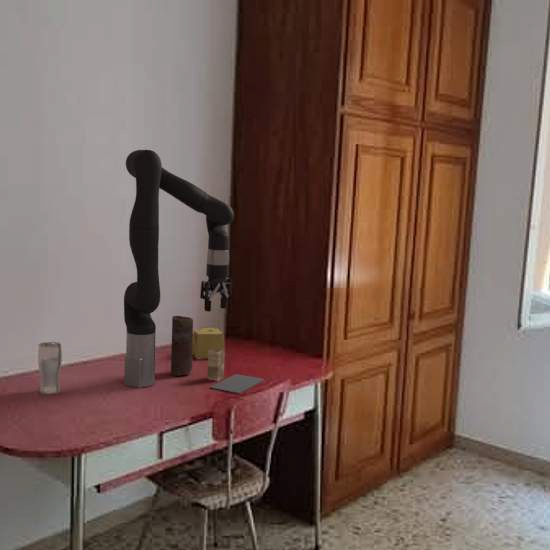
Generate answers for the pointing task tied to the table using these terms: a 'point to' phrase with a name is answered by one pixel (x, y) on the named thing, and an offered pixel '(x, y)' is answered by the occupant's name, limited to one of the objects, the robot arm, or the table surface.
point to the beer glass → (49, 366)
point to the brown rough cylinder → (181, 345)
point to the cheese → (207, 341)
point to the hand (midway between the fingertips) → (215, 309)
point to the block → (216, 364)
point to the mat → (237, 383)
